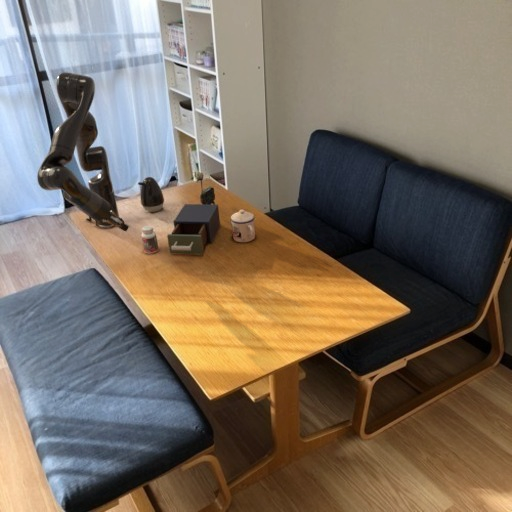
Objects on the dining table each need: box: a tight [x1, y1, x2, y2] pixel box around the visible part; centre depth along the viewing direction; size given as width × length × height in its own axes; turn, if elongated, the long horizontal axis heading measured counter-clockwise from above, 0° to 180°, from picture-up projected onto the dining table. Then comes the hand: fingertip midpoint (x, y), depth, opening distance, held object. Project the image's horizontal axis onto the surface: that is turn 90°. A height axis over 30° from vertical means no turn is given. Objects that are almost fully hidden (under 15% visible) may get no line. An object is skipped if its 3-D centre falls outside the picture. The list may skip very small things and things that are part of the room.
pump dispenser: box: [137, 176, 165, 213], centre depth 224 cm, size 10×10×15 cm
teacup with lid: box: [230, 209, 256, 243], centre depth 195 cm, size 12×9×12 cm
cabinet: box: [173, 203, 221, 245], centre depth 202 cm, size 16×14×9 cm
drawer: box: [166, 223, 208, 255], centre depth 191 cm, size 20×13×7 cm, turn 171°
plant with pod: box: [195, 171, 216, 205], centre depth 216 cm, size 8×11×20 cm
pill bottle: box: [141, 225, 159, 255], centre depth 192 cm, size 5×5×10 cm
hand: (126, 228), depth 183 cm, fingers closed
